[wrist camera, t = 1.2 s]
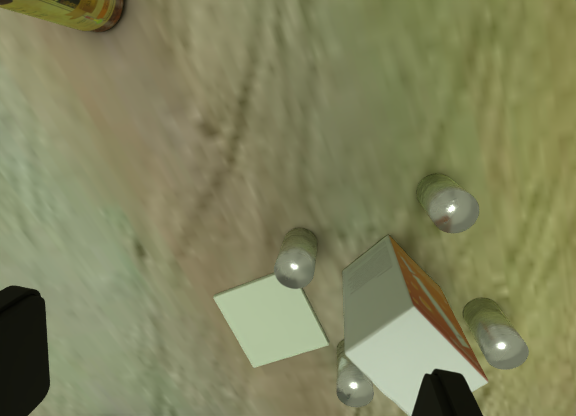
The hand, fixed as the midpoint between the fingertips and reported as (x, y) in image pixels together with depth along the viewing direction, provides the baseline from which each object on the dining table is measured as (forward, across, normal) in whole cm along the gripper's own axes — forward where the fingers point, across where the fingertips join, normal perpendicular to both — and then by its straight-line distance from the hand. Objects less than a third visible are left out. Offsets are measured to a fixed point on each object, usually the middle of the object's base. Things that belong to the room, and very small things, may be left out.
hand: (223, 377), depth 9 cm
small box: (+28, -10, +10) cm, 31 cm away
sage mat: (+28, +1, +17) cm, 33 cm away
